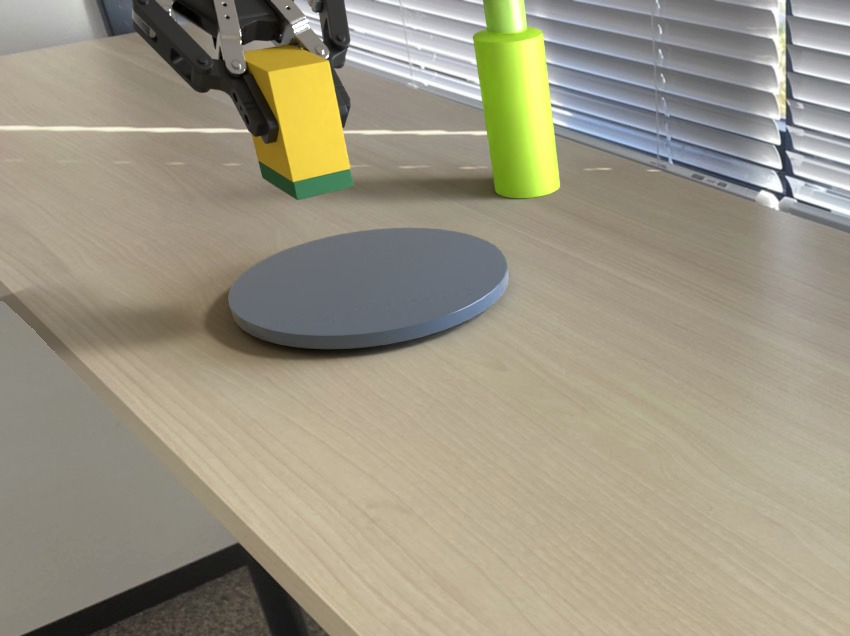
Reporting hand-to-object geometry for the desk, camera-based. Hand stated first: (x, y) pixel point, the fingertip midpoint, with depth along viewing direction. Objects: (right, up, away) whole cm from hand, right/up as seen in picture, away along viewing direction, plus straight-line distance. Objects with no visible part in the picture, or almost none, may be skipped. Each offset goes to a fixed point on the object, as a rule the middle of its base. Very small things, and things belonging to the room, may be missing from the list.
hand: (307, 127), depth 74 cm
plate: (+1, -8, +12) cm, 15 cm away
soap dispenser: (+9, +6, +31) cm, 33 cm away
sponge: (-1, -2, +4) cm, 5 cm away
